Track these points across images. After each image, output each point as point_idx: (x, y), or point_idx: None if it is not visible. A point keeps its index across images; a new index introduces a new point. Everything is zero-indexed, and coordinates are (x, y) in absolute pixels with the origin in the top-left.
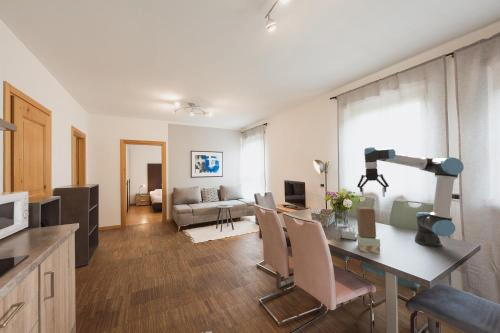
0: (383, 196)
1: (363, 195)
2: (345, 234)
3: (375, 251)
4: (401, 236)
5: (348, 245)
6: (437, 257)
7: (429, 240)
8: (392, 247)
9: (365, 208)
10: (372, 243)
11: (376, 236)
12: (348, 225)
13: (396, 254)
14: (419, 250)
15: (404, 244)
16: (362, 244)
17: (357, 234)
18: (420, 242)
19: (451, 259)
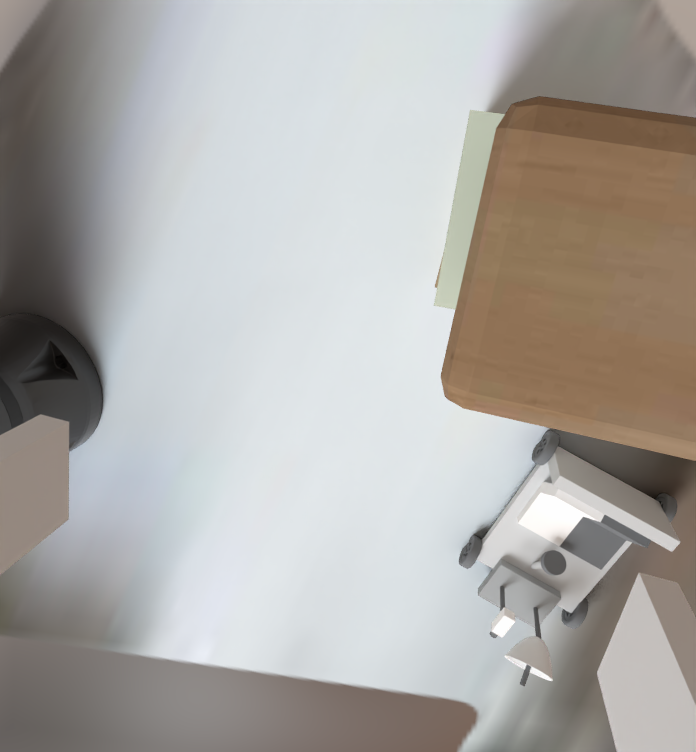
0: (65, 452)
1: (665, 611)
2: (638, 505)
3: None
4: (145, 516)
5: None
6: (94, 97)
7: (19, 334)
8: (310, 282)
9: (683, 199)
10: None
11: (458, 216)
12: (546, 657)
13: (350, 123)
14: (148, 230)
15: (195, 351)
16: None
17: None
18: (81, 360)
19: (28, 71)
